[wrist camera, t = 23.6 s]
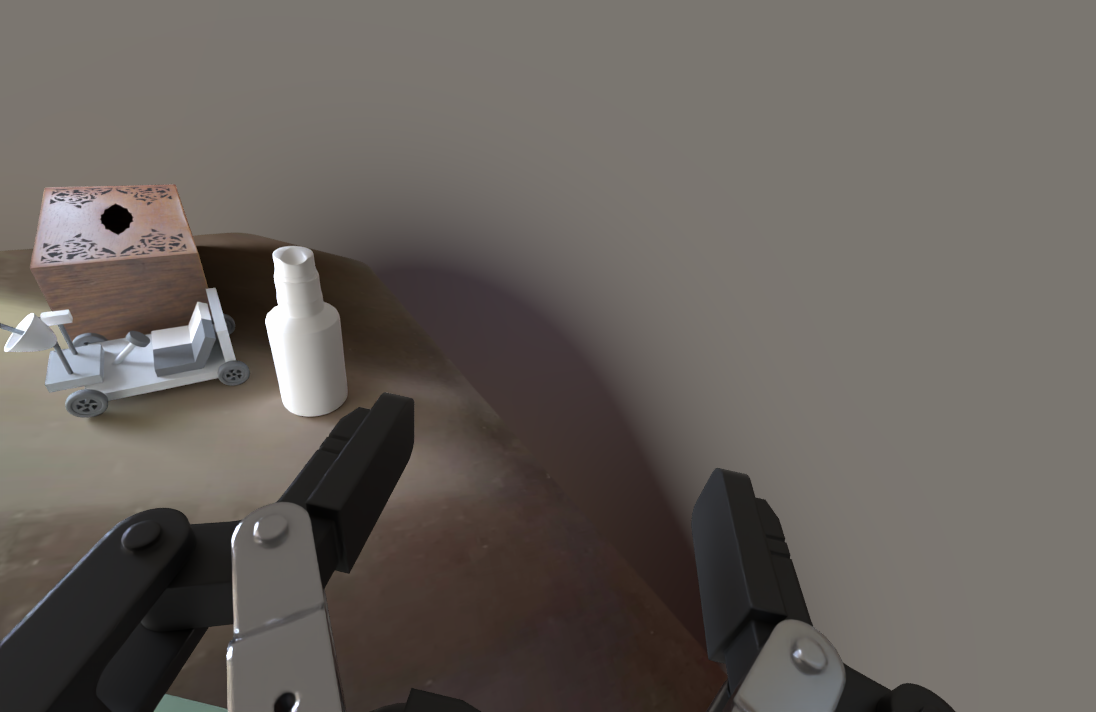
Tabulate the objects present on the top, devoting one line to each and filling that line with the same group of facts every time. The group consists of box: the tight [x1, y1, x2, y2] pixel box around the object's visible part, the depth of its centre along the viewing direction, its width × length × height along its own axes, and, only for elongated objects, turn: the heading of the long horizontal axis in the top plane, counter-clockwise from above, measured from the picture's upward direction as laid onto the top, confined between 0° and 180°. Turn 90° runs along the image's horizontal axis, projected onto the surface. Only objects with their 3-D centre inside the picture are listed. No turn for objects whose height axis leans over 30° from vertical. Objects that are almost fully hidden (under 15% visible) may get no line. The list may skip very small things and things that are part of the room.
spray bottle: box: [265, 246, 348, 417], centre depth 49 cm, size 7×7×18 cm
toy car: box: [0, 288, 250, 417], centre depth 50 cm, size 18×10×12 cm
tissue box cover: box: [30, 184, 212, 343], centre depth 63 cm, size 26×14×10 cm, turn 37°
